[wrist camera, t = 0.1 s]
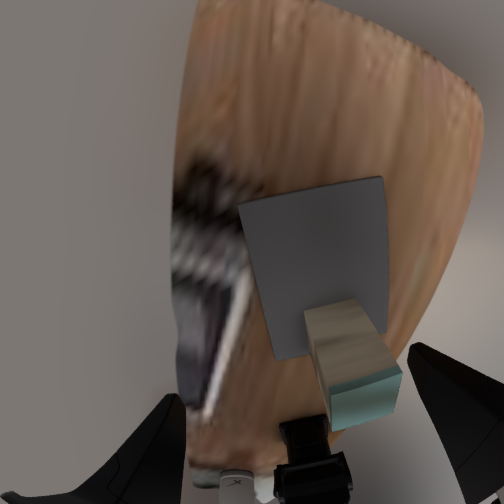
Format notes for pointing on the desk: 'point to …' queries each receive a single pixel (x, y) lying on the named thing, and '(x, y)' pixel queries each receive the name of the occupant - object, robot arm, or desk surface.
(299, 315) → the mat
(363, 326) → the ash block
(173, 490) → the robot arm
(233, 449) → the desk surface
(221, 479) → the travel mug
